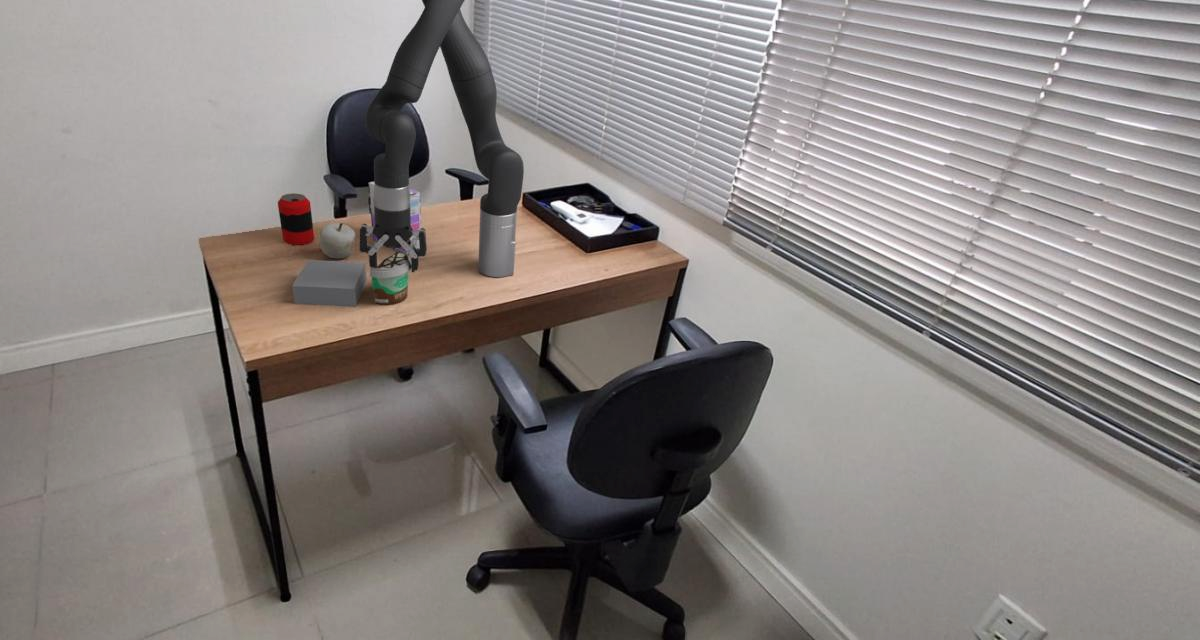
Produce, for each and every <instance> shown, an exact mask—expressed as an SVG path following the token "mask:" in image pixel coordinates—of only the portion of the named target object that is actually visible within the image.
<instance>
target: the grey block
mask: <svg viewBox="0 0 1200 640" xmlns="http://www.w3.org/2000/svg"><path fill="white" fill-rule="evenodd" d="M367 280H368V278H367V267H366V262H356V261H353V262H352V261H337V260H319V259H318V260H317V259H308V260H307V261H306V262H305V264H304V266H303V268H302V269H301V271H300V272H299V274H298V275H297V277H296V279H295V280H294V282H293V283H292V285H291V288H292V294H293V295H292V296H293V303H294V305H305V306H306V305H307V306H309V305H310V306H311V305H313V306H331V307H332V306H334V307H338V306H339V307H357V304H358V302H359V301H360V298H361V295H362V292H363V290H364V287H365V285H366V282H367Z"/></svg>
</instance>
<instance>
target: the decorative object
mask: <svg viewBox="0 0 1200 640" xmlns="http://www.w3.org/2000/svg"><path fill="white" fill-rule="evenodd" d="M356 236H357V234H356V231H354V230H353V228H351V227H350V226H348V225H347V224H344V222H342V221H340V222H330V223H327V224H324V225H323V227H322V228H321V229H320V232H319V236H318V237H319V238H318V243H319V247H320V249H321V250H322V252H323V253H324V255H326V256H328V257H329V258H331V259H334V260H335V259H337V260H338V259H344V258H346V257H348V256H349V255H350V254H351V253H352V252H354V247H355V240H356Z"/></svg>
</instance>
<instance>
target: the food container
mask: <svg viewBox="0 0 1200 640" xmlns="http://www.w3.org/2000/svg"><path fill="white" fill-rule="evenodd" d="M409 271H411V257H410V256H409V253H408V254H407V253H406V252H405V251H403V250H400V249H397V248H395V249H394V252H393V254H391V255H390V256H388V257H386V258H384V259H383V260H382V261H381V262H380V263H379V265H377V267H376V268H372V267H370V270H369V277H370V278H371V283H372V288H373V296H374V304H375V305H376V306H377V305H378V306H394V305H397V304H401V303H402V302H404V301H406V299H407V298H408V292H409V290H408V288H409Z"/></svg>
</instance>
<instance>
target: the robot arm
mask: <svg viewBox="0 0 1200 640" xmlns="http://www.w3.org/2000/svg"><path fill="white" fill-rule="evenodd" d="M421 2H422V4H423V7H424V8H423V11H422V13H421V14H420V16H419V18H418V19H417V21H416V23H415V24H414V26H413V27H412V28H411V30H410V31H409V32H408V34H407V35H406V36H405V38H404V39H403V40H402V42H401V43H400V45H399V47H398V49H397V51H396V52H395V56H394V58H393V61H392V63H391V65H390V69H389V71H388V75H387V78H386V81H385V83H384V85H383V86H381V88H380V89H379V91H378V93H377V94H376V96H375V97H374V99H373V100H372V102H371V103H370V104H369V106H368V108H367V110H366V113H365V118H364V126H365V131H366V132H367V134H368V136H370V137H371V138H372V139H374V140H376V141H378V142H381V143H383V144H385V152H384V153H379V154H378V155H376V156H375V157H374V160H373V179H374V180H373V182H374V198H373V202H374V213H375V226H374V227H372V225H368V224H366V223H362V225H361V226H360V228H359V252H360V253H365V254H368V261H369V263H368V264H369V267H370V268H371V267H372V268H376V267H377V266H378V253H377V252H378V250H380V249H381V248H382V246H385V248H392V247H396V248H400V247H403V248H404V249H405V250H406V251H407V252H408V255H410V256H411V257H410V260H411V269H410V272H411V273H415V272H416V271H418V269H419V257H425V256H426V254H427V251H428V250H427V235H426V232H427V231H426V229H425V228H424V227H421V229H420V230H413V229H412V228H411V211H410V189H411V188H410V173H409V172H410V170H409V168H410V167H409V165H410V161H411V158H412V155H413V152H414V148H415V143H416V137H417V133H416V132H417V131H416V127H415V124H414V121H413V119H412V118H411V117H410V116H409V115H408V114H406V113H404V112H403V111H402V110H403V108H404V107H405V106H406V105H408V104H415V103H418V101H419V100H420V98H421V96H422V93H423V90H424V88H425V84H426V83H427V79H428V77H429V74H430V71H431V69H432V66H433V64H434V61H435V58H436V56H437V53H438V51H439V49H440V51H441V54H442V56H443V58H444V62H445V66H446V68H447V72H448V75H449V78H450V82H451V84H452V87H453V90H454V94H455V96H456V99H457V101H458V104H459V105H458V106H459V107H460V110H461V114H462V115H463V119H464V121H465V124H466V126H467V129H468V133H469V137H470V141H471V145H472V149H473V156H474V159H475V163H476V167H477V169H478V171H479V172H480V174H481V175H482V176H483V177H484V178H486V179H487V180H488V187H487V188H488V190H487V193H485V194H483V195H481V196H480V202H479V203H480V204H479V208H480V209H479V230H478V231H479V232H478V233H479V234H478V235H479V237H478V263H477V264H478V265H477V268H478V271H479V272H480V274H482V275H485V276H487V277H491V278H506V277H509V276H514V273H515V272H514V271H515V259H516V258H515V255H516V231H517V230H516V229H517V218H518V217H517V216H518V215H517V214H518V213H517V211H518V205H519V203H520V201H521V198H522V191H523V183H524V173H525V172H524V167H525V166H524V161H523V158H522V157H521V154H519V153H518V152H516V151H515V150H514V149H512V148H510V147H509V146H507V145H506V144H505V141H504V139H503V137H502V134H501V132H500V128H499V126H498V122H497V118H496V115H497V114H496V109H497V100H498V99H497V98H498V97H497V86H496V81H495V77H494V74H493V70H492V67H491V63H490V61H489V58H488V56H487V54H486V53H485V50H484V49H483V48H482V46H481V44H480V43H479V41H478V39H477V38H476V36H475V35H474V33H473V32H472V31H471V29H470V27H469V26H468V24H467V22H466V21H465V18H464V17H463V13H462V10H461V8H462V6H463V4H464V3H465V0H421ZM409 188H410V189H409ZM372 232H373V233H374V235H375V236H376V237H377V238H378V239H377V240H375V242H373V244H372V245H368V237H370V235H371V233H372ZM412 235H414V236H415V237H416V239H417V240H419V245H420V249H418V250H417V248H416V247H415V246H414V245H413V242H412V241H411V240H410V238H411V237H412Z"/></svg>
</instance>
